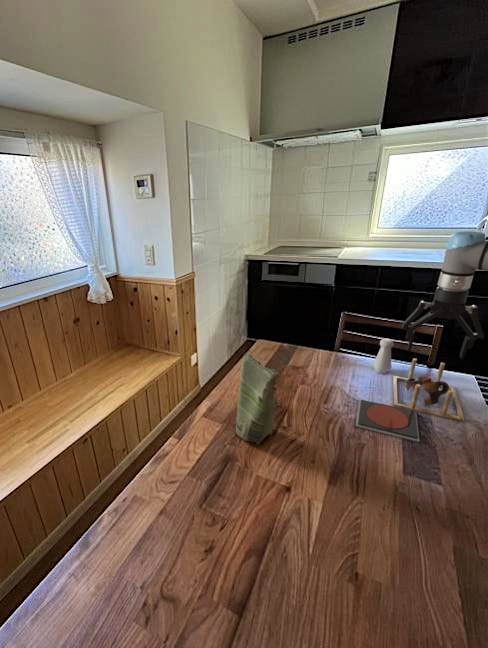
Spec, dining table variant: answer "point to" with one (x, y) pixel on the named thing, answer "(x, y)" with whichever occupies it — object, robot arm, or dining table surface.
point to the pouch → (255, 400)
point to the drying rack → (416, 392)
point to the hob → (388, 420)
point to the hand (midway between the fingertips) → (434, 353)
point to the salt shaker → (384, 357)
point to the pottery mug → (429, 388)
